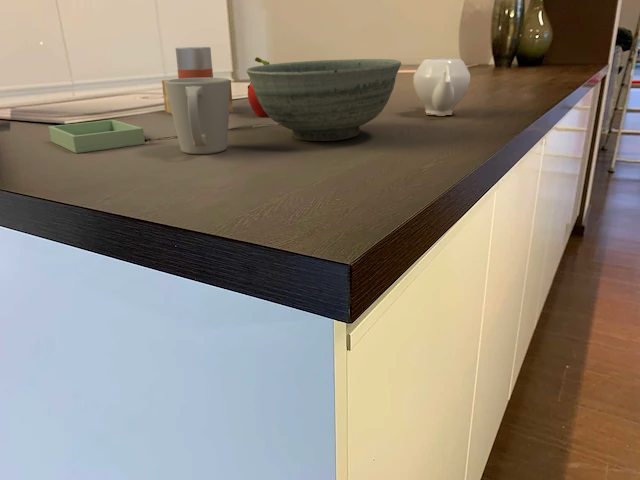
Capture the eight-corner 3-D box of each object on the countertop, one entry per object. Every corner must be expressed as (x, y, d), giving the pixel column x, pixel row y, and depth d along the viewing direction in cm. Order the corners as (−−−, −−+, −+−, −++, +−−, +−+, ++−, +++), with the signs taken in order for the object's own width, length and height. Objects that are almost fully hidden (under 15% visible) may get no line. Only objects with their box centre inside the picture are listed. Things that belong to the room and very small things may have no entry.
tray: (51, 141, 75) (48, 126, 74) (115, 133, 80) (113, 119, 80) (76, 153, 67) (73, 136, 66) (145, 143, 72) (143, 128, 72)
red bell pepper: (296, 118, 93) (294, 56, 89) (267, 123, 88) (264, 58, 84) (265, 114, 97) (262, 56, 94) (237, 119, 93) (232, 57, 89)
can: (176, 111, 99) (169, 47, 95) (205, 108, 102) (200, 46, 98) (191, 114, 94) (185, 48, 90) (222, 111, 98) (217, 47, 94)
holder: (165, 114, 99) (161, 80, 97) (209, 110, 104) (206, 77, 102) (188, 119, 92) (184, 83, 90) (233, 114, 98) (230, 79, 96)
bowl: (429, 140, 72) (434, 61, 68) (288, 157, 63) (285, 68, 59) (349, 120, 89) (349, 57, 85) (229, 132, 80) (223, 61, 76)
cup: (236, 143, 71) (232, 76, 68) (230, 159, 62) (225, 83, 59) (178, 145, 71) (171, 78, 68) (164, 161, 62) (154, 84, 59)
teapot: (415, 123, 85) (418, 61, 82) (408, 107, 104) (411, 56, 101) (476, 123, 84) (482, 61, 81) (459, 107, 103) (463, 56, 100)
